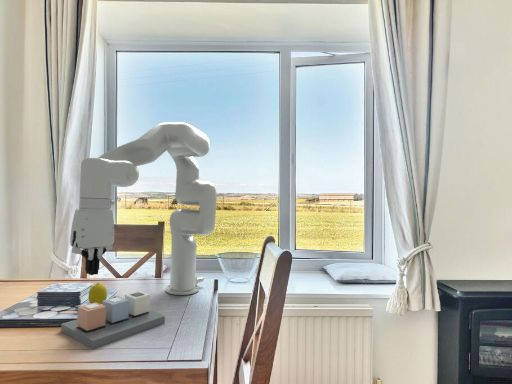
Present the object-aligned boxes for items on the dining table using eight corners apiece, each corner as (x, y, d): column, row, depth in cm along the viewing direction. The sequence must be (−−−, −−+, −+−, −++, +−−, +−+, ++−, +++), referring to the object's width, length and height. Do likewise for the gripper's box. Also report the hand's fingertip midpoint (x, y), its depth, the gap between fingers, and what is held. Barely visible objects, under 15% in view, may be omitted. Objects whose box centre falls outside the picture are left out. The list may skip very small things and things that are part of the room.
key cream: (138, 307, 108) (139, 290, 108) (148, 311, 105) (149, 294, 105) (124, 311, 104) (124, 294, 104) (134, 315, 101) (135, 297, 101)
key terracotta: (95, 320, 97) (95, 301, 97) (105, 325, 94) (106, 305, 94) (77, 325, 93) (77, 306, 93) (87, 330, 90) (87, 310, 90)
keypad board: (132, 309, 113) (132, 303, 113) (164, 322, 103) (164, 316, 103) (61, 331, 95) (61, 323, 95) (92, 348, 86) (92, 340, 86)
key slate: (118, 313, 103) (118, 295, 103) (128, 317, 100) (128, 299, 100) (102, 318, 99) (102, 299, 99) (112, 322, 96) (112, 303, 96)
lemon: (99, 311, 111) (100, 286, 111) (84, 309, 112) (85, 284, 112) (110, 305, 116) (111, 281, 116) (95, 303, 117) (96, 280, 117)
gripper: (112, 204, 101) (110, 267, 101) (58, 204, 89) (55, 276, 89) (128, 205, 97) (125, 271, 97) (73, 205, 85) (70, 281, 85)
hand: (92, 273), depth 93 cm, fingers closed
